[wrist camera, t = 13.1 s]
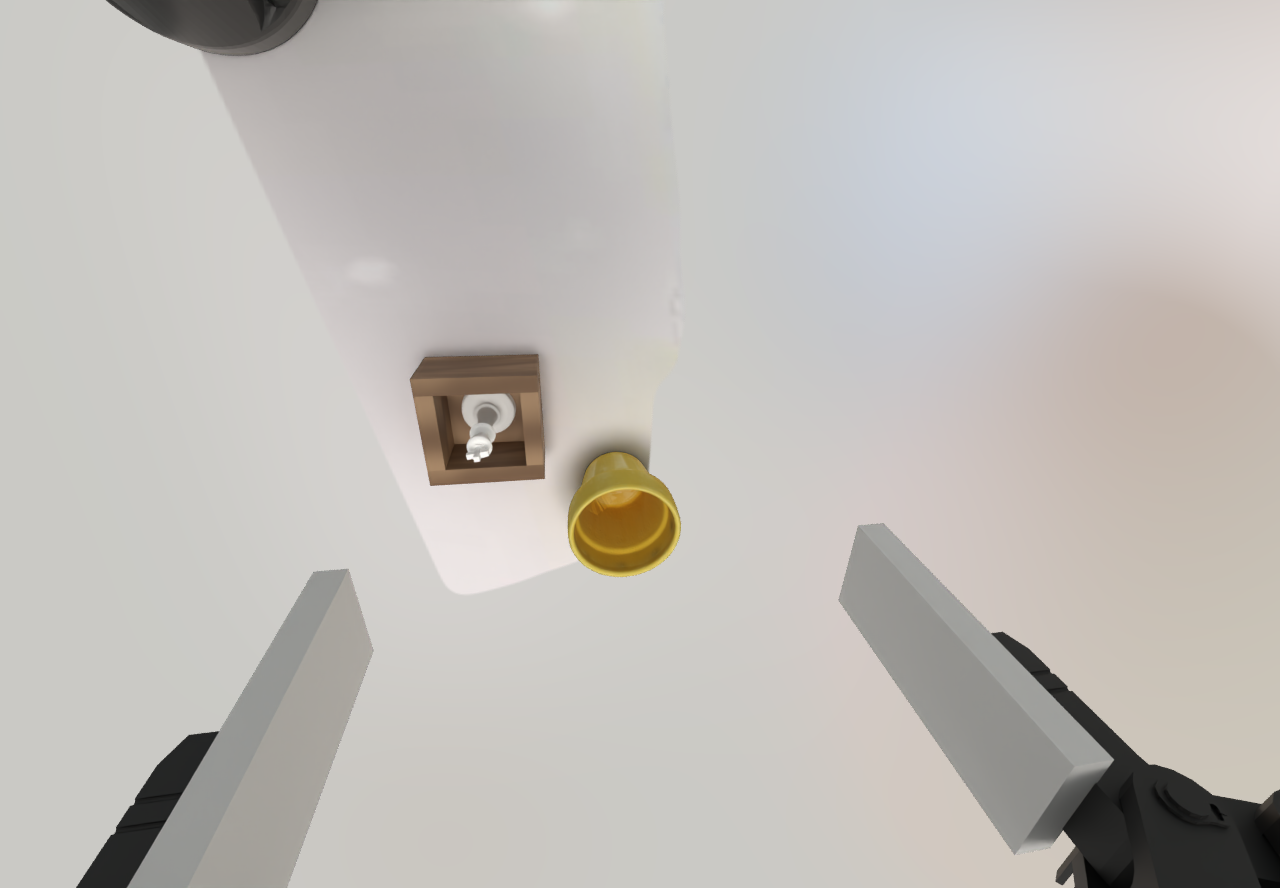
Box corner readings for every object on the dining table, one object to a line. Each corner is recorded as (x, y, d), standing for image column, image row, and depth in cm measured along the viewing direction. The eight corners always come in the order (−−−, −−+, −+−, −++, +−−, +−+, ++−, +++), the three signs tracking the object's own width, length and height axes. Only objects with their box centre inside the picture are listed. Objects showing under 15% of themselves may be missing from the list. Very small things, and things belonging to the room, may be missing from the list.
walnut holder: (425, 356, 46) (409, 379, 41) (538, 353, 48) (537, 375, 43) (442, 453, 51) (430, 485, 46) (544, 448, 52) (544, 478, 47)
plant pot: (565, 521, 57) (569, 582, 48) (564, 436, 52) (567, 488, 43) (658, 516, 58) (677, 574, 50) (664, 434, 54) (686, 483, 45)
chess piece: (455, 388, 47) (434, 437, 38) (508, 379, 48) (500, 425, 39) (470, 435, 49) (453, 491, 41) (521, 426, 50) (515, 480, 41)
